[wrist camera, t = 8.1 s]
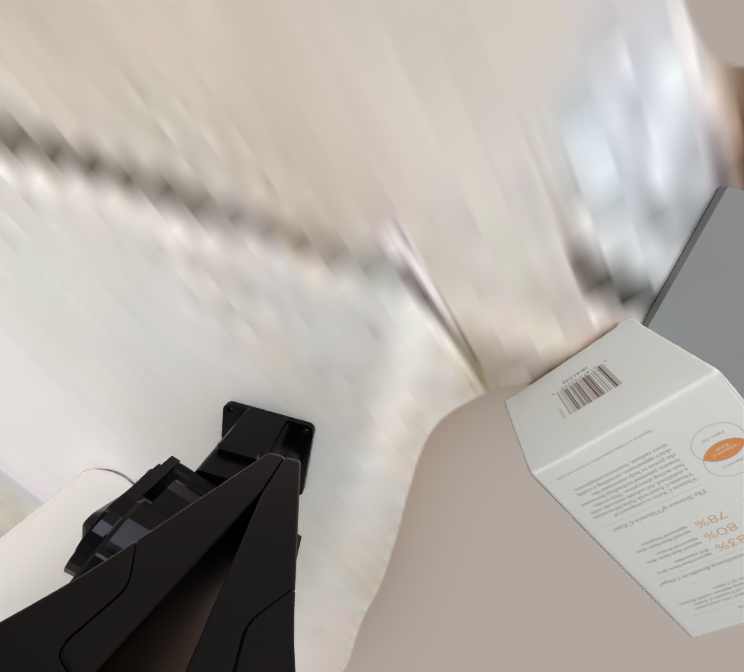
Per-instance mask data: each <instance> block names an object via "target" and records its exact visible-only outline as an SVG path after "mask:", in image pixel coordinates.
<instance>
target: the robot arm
mask: <svg viewBox="0 0 744 672" xmlns="http://www.w3.org/2000/svg"><path fill="white" fill-rule="evenodd" d="M230 408H232V409H233V410H231V409H230ZM305 429H308V430H309V431H307V430H305ZM314 433H315V427H314V425H313V424H312V423H310V422H306V421H303V420H299V419H295V418H292V417H288V416H284V415H281V414H277V413H273V412H270V411H266V410H263V409H259V408H255V407H252V406H248V405H244V404H241V403H237V402H233V401H230V402H228V403H227V404H226V405H225V406H224V408H223V423H222V440H221V441H220V442H219V443H218V445H217V446H216V447H215V449H214V450H213V451H212V452H211V453H210V455H209V456H208V457H207V458H206V459H205V460H204V462H203V463H202V464H201V465H200V466H199V468H198V469H197V470H196V471H195V472H194V471H192V470H191V469H189V468H187V467H186V466H184V465H183V464H181V463H180V460H178V459H177V458H175V457H173V456H171V457H170V458H169V459H168V460H166V461H165V462H164V463H163V464H162V465H161V464H158V465H157V466H156V467H154V468H153V469H150V470H149V471H148V472H147V473H146V474H145V475H144V476H143V477H142V478H141V479H140V480H139V481H137V482H136V483H135V484H134V485H133V486H132V487H131V488H129V489H128V490H127V491H126V492H125V493H123V494H122V495H121V496H119V497H118V498H116V499H114V500H113V501H111V502H110V503H108V504H106V505H105V506H103V507H102V508H100V509H98V510H97V511H95V512H94V513H92V514H91V515H90V516H89V517H88V518H87V519H86V521H85V522H84V523H83V525H82V540H81V541H80V543H79V544H78V546H77V547H76V549H75V552H74V553H73V555H72V556H71V558H70V559H69V561H68V562H67V564H66V566H65V568H64V572H66V573H67V574H69V575H71V576H73V578H72V580H71V581H70V582H69V583H68V584H66V585H64V586H63V587H61V588H59V589H58V590H56V591H54V592H52V593H51V594H49V595H47V596H45V597H44V598H42V599H40V600H38V601H37V602H35V603H33V604H31V605H29V606H28V607H26V608H24V609H22V610H21V611H19V612H17V613H15V614H13V615H12V616H10V617H8V618H6V619H4V620H3V621H1V622H0V672H295V654H294V606H295V592H294V591H295V580H296V559H297V555H298V550H299V546H300V541H301V536H300V535H299V534H298V512H299V495H301V494H302V493H303V490H304V488H305V483H306V477H307V472H308V466H309V461H310V455H311V450H312V444H313V439H314Z"/></svg>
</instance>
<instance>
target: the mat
mask: <svg viewBox="0 0 744 672" xmlns="http://www.w3.org/2000/svg"><path fill="white" fill-rule="evenodd" d="M642 325H643V326H645V327H647V328H648V329H650V330H652V331H653V332H655V333H657V334H658V335H660V336H662V337H663V338H665V339H667V340H668V341H670V342H672V343H674V344H675V345H677V346H679V347H681V348H682V349H684V350H685V351H687V352H689V353H691V354H692V355H694V356H696V357H697V358H699V359H701V360H702V361H704V362H706V363H708V364H709V365H711V366H713V367H715V368H716V369H718V370H719V371H720V372H721V373H722V374H723V375H724V376H725V378H726V379H727V380H728V381H729V382H730V383H731V384H732V386H733V387H734V388H735V389H736V391H737V392H738V393H739V394H740V396H741V397H742V398H743V399H744V190H740V189H736V188H731V187H719V188H718V190H717V192H716V194H715V196H714V197H713V199H712V201H711V203H710V205H709V206H708V208H707V210H706V212H705V213H704V215H703V217H702V219H701V221H700V222H699V224H698V226H697V228H696V230H695V231H694V233H693V235H692V237H691V238H690V240H689V242H688V244H687V246H686V247H685V249H684V251H683V253H682V255H681V256H680V258H679V260H678V262H677V263H676V265H675V267H674V269H673V271H672V272H671V274H670V276H669V278H668V280H667V281H666V283H665V285H664V287H663V289H662V290H661V292H660V294H659V296H658V297H657V299H656V301H655V303H654V305H653V306H652V308H651V310H650V312H649V314H648V315H647V317H646V319H645V321H644V322H643V324H642Z"/></svg>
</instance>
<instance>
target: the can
mask: <svg viewBox="0 0 744 672" xmlns="http://www.w3.org/2000/svg"><path fill="white" fill-rule="evenodd" d="M133 485H134V483H133V482H132V481H131V480H130V479H128V478H127V477H125V476H124V475H122V474H120V473H118V472H116V471H112V470H108V469H95V470H88V471H85V472H83V473H82V474H80V475H79V476H78V477H76V478H75V479H74V480H73V481H71V482H70V483H69V484H67V485H66V486H65V487H64V488H62V489H61V490H60V491H59V492H57V493H56V494H55V495H54V496H52V497H51V498H50V499H49V500H47V501H46V502H45V503H44V504H42V505H41V506H40V507H39V508H37V509H36V510H35V511H34V512H32V513H31V514H30V515H29V516H27V517H26V518H25V519H24V520H22V521H21V522H20V523H19V524H18V525H16V526H15V527H14V528H13V529H11V530H10V531H9V532H8V533H6V534H5V535H4V536H3V537H1V538H0V622H1V621H3V620H4V619H6V618H8V617H10V616H12V615H13V614H15V613H17V612H19V611H21V610H22V609H24V608H26V607H28V606H29V605H31V604H33V603H35V602H37V601H38V600H40V599H42V598H44V597H45V596H47V595H49V594H51V593H52V592H54V591H56V590H58V589H59V588H61V587H63V586H64V585H66V584H68V583H69V582H70V581H71V580H72V578H73V576H71V575H69V574H67V573H66V572H64V568H65V566H66V564H67V562H68V561H69V559H70V558H71V556H72V555H73V553H74V552H75V549H76V547H77V546H78V544H79V543H80V541H81V540H82V525H83V523H84V522H85V521H86V519H87V518H88V517H89V516H90V515H91V514H92V513H94V512H95V511H97V510H98V509H100V508H102V507H103V506H105V505H106V504H108V503H110V502H111V501H113V500H114V499H116V498H118V497H119V496H121V495H122V494H123V493H125V492H126V491H127V490H128V489H129V488H131V487H132V486H133Z"/></svg>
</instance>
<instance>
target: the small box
mask: <svg viewBox="0 0 744 672" xmlns="http://www.w3.org/2000/svg"><path fill="white" fill-rule="evenodd" d="M505 406H506V408H507V411H508V413H509V416H510V419H511V422H512V425H513V427H514V430H515V433H516V435H517V438H518V441H519V444H520V447H521V450H522V452H523V455H524V458H525V460H526V463H527V466H528V468H529V471H530V473H531V475H532V476H533V477H534V478H535V479H536V480H537V481H538V482H539V483H540V484H541V485H542V486H543V487H544V489H545V490H546V491H547V492H548V493H549V494H550V495H551V496H552V497H553V498H554V499H555V500H556V501H557V502H558V503H559V504H560V505H561V506H562V507H563V508H564V509H565V510H566V511H567V512H568V513H569V514H570V515H571V516H572V517H573V519H575V521H576V522H577V523H578V524H579V525H580V526H581V527H582V528H583V529H584V530H585V531H586V532H587V533H588V534H589V535H590V536H591V537H592V538H593V539H594V540H595V541H596V542H597V543H598V544H599V545H600V546H601V547H602V548H603V549H604V550H605V551H606V552H607V553H608V554H609V555H610V556H611V557H612V558H613V559H614V560H615V561H616V562H617V563H618V564H619V565H620V566H621V567H622V568H623V569H624V570H625V571H626V572H627V573H628V574H629V575H630V576H631V577H632V578H633V579H634V580H635V581H636V582H637V583H638V584H639V585H640V586H641V587H642V588H643V589H644V590H645V591H646V592H647V593H648V594H649V595H650V596H651V597H652V598H653V599H654V600H655V601H656V602H657V603H658V605H660V607H662V609H663V610H664V611H665V612H666V613H667V614H668V615H669V616H670V617H671V618H672V619H673V620H674V621H675V622H676V623H677V624H678V625H679V626H680V627H681V628H682V629H683V630H684V631H685V632H686V633H687V634H688V635H689V636H690V637H698V636H701V635H704V634H707V633H710V632H714V631H717V630H721V629H724V628H727V627H731V626H734V625H738V624H741V623H744V399H743V398H742V397H741V396H740V394H739V393H738V392H737V391H736V389H735V388H734V387H733V386H732V384H731V383H730V382H729V381H728V380H727V379H726V378H725V376H724V375H723V374H722V373H721V372H720V371H719V370H718V369H716V368H715V367H713V366H711V365H709V364H708V363H706V362H704V361H702V360H701V359H699V358H697V357H696V356H694V355H692V354H691V353H689V352H687V351H685V350H684V349H682V348H681V347H679V346H677V345H675V344H674V343H672V342H670V341H668V340H667V339H665V338H663V337H662V336H660V335H658V334H657V333H655V332H653V331H652V330H650V329H648V328H647V327H645V326H643V325H642V324H640V323H638V322H637V321H635V320H633V319H632V318H627V319H626V320H624V321H623V322H621V323H620V324H618V325H617V326H616V327H615V328H614V329H613V330H611V331H610V332H608V333H607V334H605V335H604V336H603V337H601V338H600V339H598V340H597V341H595V342H594V343H592V344H591V345H589V346H588V347H586V348H585V349H583V350H582V351H580V352H579V353H578V354H576V355H575V356H573V357H572V358H570V359H569V360H567V361H566V362H564V363H563V364H561V365H560V366H558V367H556V368H555V369H553V370H552V371H550V372H549V373H547V374H546V375H544V376H543V377H541V378H540V379H538V380H537V381H535V382H534V383H533V384H531V385H529V386H528V387H526V388H525V389H523V390H522V391H520V392H518V393H517V394H515V395H513V396H512V397H510V398H508V399H507V400H505Z"/></svg>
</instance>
